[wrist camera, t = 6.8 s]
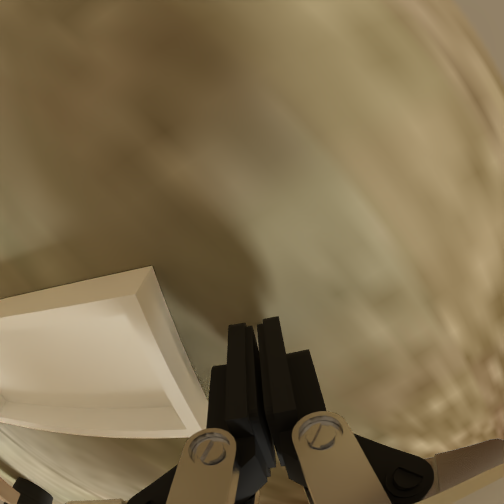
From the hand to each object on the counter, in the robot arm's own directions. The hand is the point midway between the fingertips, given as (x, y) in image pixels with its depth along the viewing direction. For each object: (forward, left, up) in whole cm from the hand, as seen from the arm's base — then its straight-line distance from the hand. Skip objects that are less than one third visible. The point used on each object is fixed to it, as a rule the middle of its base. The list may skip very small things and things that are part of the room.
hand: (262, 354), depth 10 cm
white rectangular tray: (+10, 0, -1) cm, 10 cm away
